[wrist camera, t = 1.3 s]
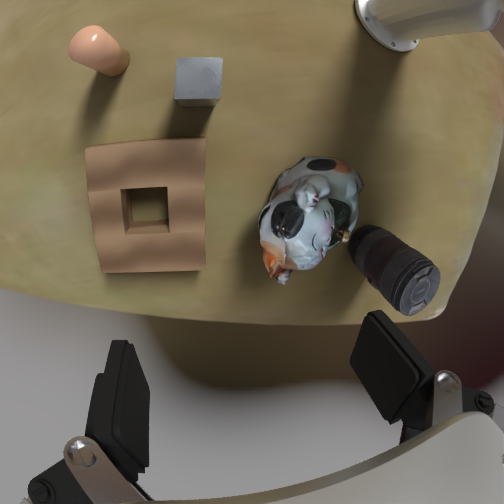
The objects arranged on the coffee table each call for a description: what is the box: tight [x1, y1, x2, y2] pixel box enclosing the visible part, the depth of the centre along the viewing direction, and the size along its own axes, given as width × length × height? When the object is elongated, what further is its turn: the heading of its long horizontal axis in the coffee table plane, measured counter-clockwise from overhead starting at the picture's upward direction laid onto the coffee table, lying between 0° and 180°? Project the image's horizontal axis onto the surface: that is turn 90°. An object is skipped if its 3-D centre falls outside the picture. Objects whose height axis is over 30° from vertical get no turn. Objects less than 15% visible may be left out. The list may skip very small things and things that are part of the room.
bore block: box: [85, 137, 206, 273], centre depth 31 cm, size 16×14×4 cm
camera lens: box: [349, 225, 440, 316], centre depth 36 cm, size 8×8×15 cm
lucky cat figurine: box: [258, 157, 364, 285], centre depth 32 cm, size 15×12×14 cm
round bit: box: [68, 25, 130, 76], centre depth 19 cm, size 4×4×10 cm
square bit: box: [174, 57, 223, 107], centre depth 24 cm, size 4×4×10 cm
